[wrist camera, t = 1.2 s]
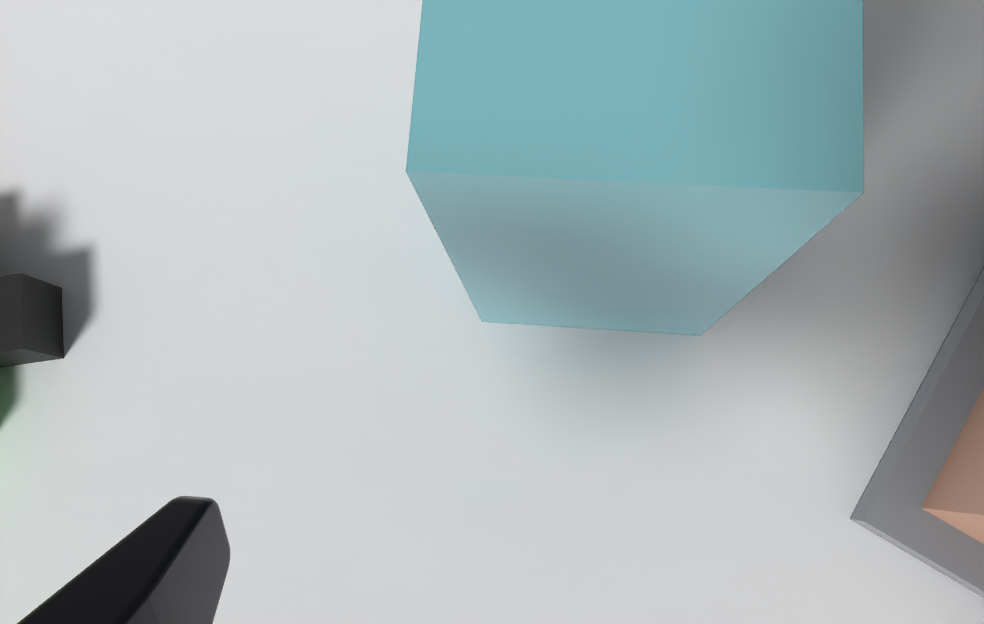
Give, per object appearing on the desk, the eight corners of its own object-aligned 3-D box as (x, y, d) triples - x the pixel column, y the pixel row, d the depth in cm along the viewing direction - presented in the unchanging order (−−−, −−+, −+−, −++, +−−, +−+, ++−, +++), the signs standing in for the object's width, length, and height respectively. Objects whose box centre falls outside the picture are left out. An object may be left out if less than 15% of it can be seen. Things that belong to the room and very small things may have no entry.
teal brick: (700, 335, 22) (863, 191, 11) (481, 321, 23) (405, 170, 11) (706, 128, 23) (861, -212, 12) (498, 120, 24) (444, -214, 12)
